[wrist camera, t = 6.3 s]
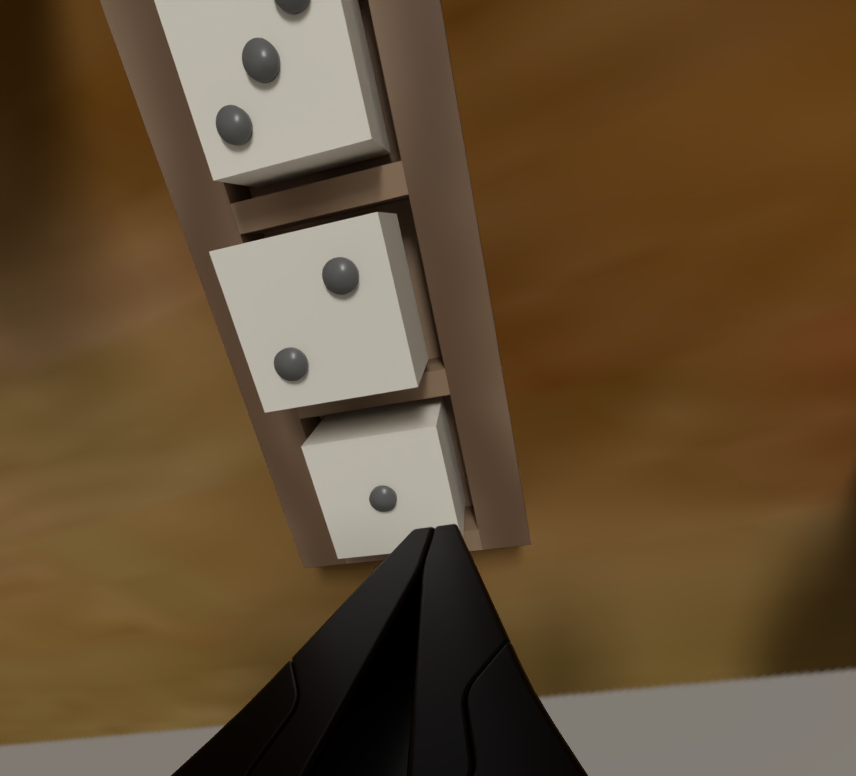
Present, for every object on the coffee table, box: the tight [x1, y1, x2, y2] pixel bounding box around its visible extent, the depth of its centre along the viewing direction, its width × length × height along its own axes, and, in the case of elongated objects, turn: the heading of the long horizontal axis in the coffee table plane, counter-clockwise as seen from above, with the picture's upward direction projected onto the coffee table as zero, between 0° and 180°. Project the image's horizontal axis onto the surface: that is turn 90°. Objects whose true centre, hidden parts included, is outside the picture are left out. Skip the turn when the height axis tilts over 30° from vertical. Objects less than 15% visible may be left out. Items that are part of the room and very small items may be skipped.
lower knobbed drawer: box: [301, 396, 465, 559], centre depth 18 cm, size 5×5×3 cm
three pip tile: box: [154, 0, 391, 188], centre depth 14 cm, size 5×5×3 cm
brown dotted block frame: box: [100, 0, 531, 568], centre depth 17 cm, size 10×22×2 cm, turn 12°
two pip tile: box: [209, 212, 428, 413], centre depth 15 cm, size 5×5×3 cm
